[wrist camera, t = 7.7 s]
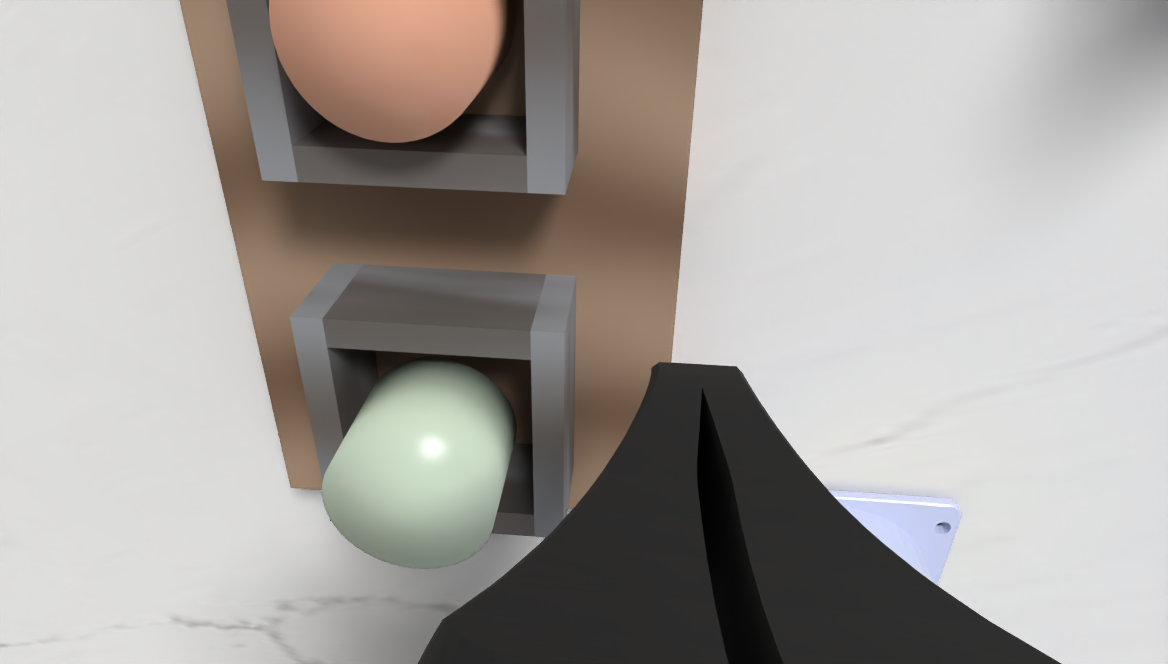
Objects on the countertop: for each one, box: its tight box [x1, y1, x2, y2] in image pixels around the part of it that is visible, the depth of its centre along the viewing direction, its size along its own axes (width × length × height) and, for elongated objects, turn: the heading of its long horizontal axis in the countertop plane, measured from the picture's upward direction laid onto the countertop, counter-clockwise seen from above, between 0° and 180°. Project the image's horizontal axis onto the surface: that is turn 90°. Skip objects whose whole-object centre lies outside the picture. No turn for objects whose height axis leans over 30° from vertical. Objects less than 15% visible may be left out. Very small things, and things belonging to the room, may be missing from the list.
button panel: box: [180, 0, 703, 537], centre depth 20 cm, size 20×12×5 cm, turn 179°
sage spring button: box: [322, 358, 517, 569], centre depth 19 cm, size 4×4×3 cm
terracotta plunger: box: [269, 0, 516, 143], centre depth 16 cm, size 4×4×3 cm
